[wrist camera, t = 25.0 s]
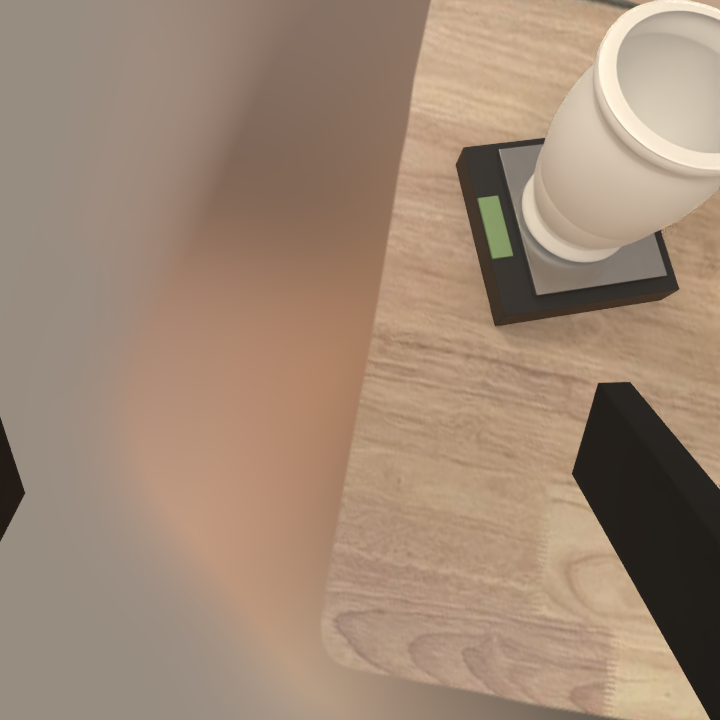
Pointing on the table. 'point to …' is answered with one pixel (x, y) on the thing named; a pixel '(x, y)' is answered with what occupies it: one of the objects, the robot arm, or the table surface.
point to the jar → (632, 135)
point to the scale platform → (559, 273)
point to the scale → (505, 256)
